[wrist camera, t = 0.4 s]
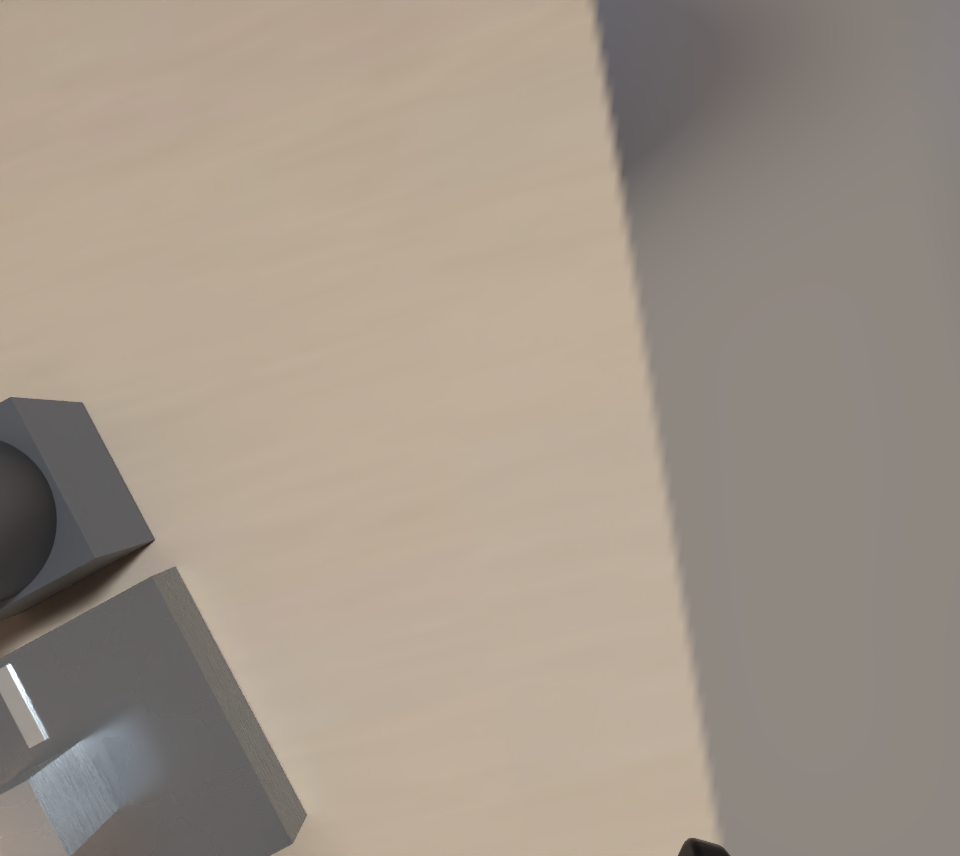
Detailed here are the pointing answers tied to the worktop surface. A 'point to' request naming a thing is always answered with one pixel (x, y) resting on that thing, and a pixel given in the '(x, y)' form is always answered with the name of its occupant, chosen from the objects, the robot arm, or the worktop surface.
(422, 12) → the worktop surface
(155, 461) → the worktop surface
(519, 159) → the worktop surface
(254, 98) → the worktop surface
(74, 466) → the knob
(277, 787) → the plate
